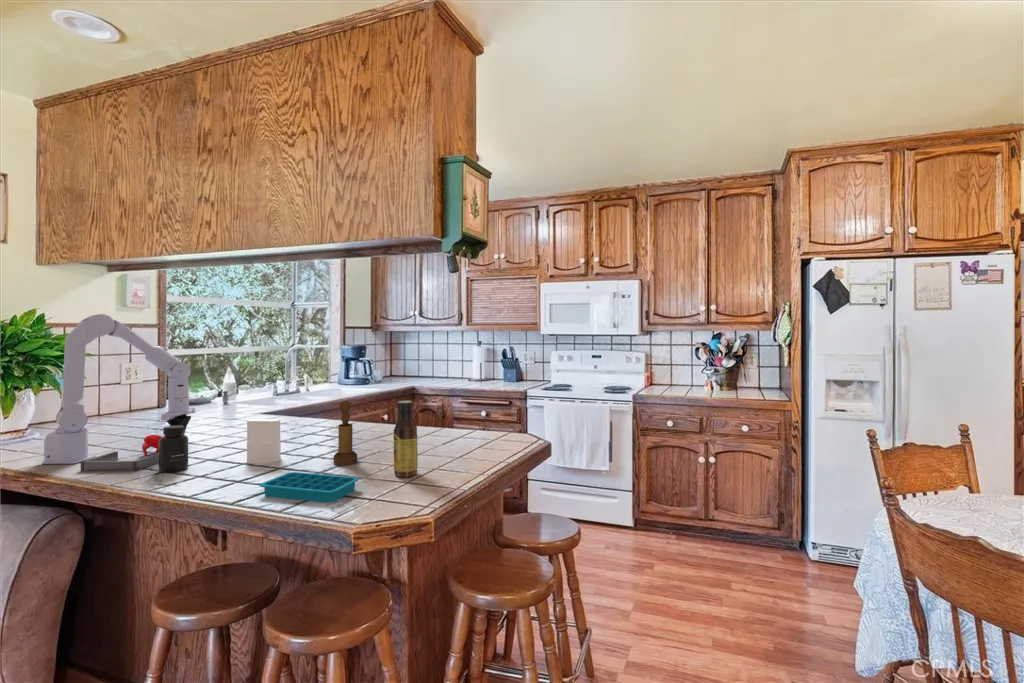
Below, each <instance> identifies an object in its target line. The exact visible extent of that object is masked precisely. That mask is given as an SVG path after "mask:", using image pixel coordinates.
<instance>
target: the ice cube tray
mask: <svg viewBox="0 0 1024 683" xmlns="http://www.w3.org/2000/svg"><path fill="white" fill-rule="evenodd" d="M359 480H360V478H359V477H358V476H357V477H356V476H348V475H346V476H345V475H336V474H335V475H334V474H333V475H332V474H323V473H310V472H309V473H308V472H298V471H290V472H287V473H284V474H281V475H280V476H277V477H273V478H271V479H269V480H266V481H264V482H262V483H259V487H261V488H263V489H264V496H265V497H271V498H281V499H290V500H291V499H292V500H299V501H300V500H301V501H310V502H322V503H333V502H335V501H337V500H339V499H341V498H342V497H345V496H346V495H348V494H350V493H353V492H354V491H355V488H356V487H355V486H356V482H358V481H359Z"/></svg>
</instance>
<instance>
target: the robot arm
mask: <svg viewBox="0 0 1024 683" xmlns="http://www.w3.org/2000/svg"><path fill="white" fill-rule="evenodd" d="M106 335H107V336H110V337H115V338H120V339H121V340H123V341H125V342H127V343H128V344H130V345H131V346H133V347H134V348H135V349H138V351H140V352H142V353H143V354H144V358H145V361H147V362H149V363H150V364H152V365H153V366H155V367H156V368H158V369H159V370H160V371H161V372H165V375H166V376H167V377H168V380H167V381H168V384H167V392H168V393H167V398H168V399H167V405H168V408H167V409H168V411H166V412H165V413H162V414H160V419H161V420H160V421H166V422H167V424H168V426H175V425H182V426H184V431H185V432H184V433H183V434H184V435H186V430H187V426H188V424H189V422H190V421H191V419H192V416H191V415H190V414H196V407H190V390H189V388H190V387H189V386H190V385H189V377H190V375H191V374H192V370H191V369H190V366H189V365H188V364H187V363H185V362H183V361H181V358H180V357H178V356H177V357H176V356H175V355H173V354H171V353H170V352H169V351H168V350H169V349H168V348H167V347H165V346H163V347H162V346H161V345H152V344H151V343H149V342H148V341H147V340H145V339H144V338H143V337H141V336H140V335H138V334H137V333H136V332H134V331H133V330H132V329H130V327H128V326H127V325H125V324H124V323H122V322H121V321H118V320H116V319H114V318H112V317H111V316H110V315H107V314H105V313H99V314H92V315H90V316H88V317H86V318H83V319H81V321H79V323H78V324H77V325H76V326H75V327H74V328H73V329H72V330H71V331H70V332H69V333H68V334H67V335H66V336H65V339H64V354H63V355H64V358H63V373H62V374H63V375H62V376H63V377H62V379H63V380H62V398H61V401H60V408H59V410H58V412H57V414H56V416H55V419H56V420H55V421H56V423H57V424H58V425H59V426H58V427H57V428H56V429H55V430H53V431H51V432H49V433H48V434H47V435H46V436H45V437H44V441H43V453H44V454H43V456H44V457H43V458H44V459H43V460H44V461H41V464H42V465H44V464H46V465H55V464H58V465H61V464H62V465H63V464H66V465H67V464H68V465H69V464H70V465H72V464H78V463H81V462H82V461H85V460H88V459H92V458H95V457H97V455H93V454H91V455H89V438H88V437H89V427H87V423H88V419H89V418H88V415H87V414H86V412H85V403H84V402H85V401H84V387H85V385H84V384H85V372H86V371H85V370H86V368H85V366H86V346H87V345H88V344H90V343H91V342H93V341H95V340H96V339H97V338H101V337H104V336H106Z"/></svg>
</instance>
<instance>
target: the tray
mask: <svg viewBox="0 0 1024 683" xmlns="http://www.w3.org/2000/svg"><path fill="white" fill-rule="evenodd" d="M155 464H159V452H158V453H156V452H155V453H153V454H151V455H147V456H145V457H143V458H140V459H137V460H119V451H118V450H117V451H112V452H108V453H105V454H102V455H98V456H96V457H94V458H91V459H88V460H85V461H81V462H80V472H134V471H135V472H137V471H139V470H142V469H145V468H147V467H150V466H153V465H155Z"/></svg>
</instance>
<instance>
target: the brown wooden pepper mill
mask: <svg viewBox="0 0 1024 683" xmlns="http://www.w3.org/2000/svg"><path fill="white" fill-rule="evenodd" d="M339 408H340V411H341V413H342V416H341V422H342V423H340V424H338V448H337V449H338V450H337V452H336V453H335V454H334V455H333V464H334V465H336V466H350V465H354V464H356V463H358V453H357V452H355V451H354V450H353V423H349V422H350V415H349V411H350V410H351V403H350V401H348V400H345V401H342V402H341V403H340V404H339Z"/></svg>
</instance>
